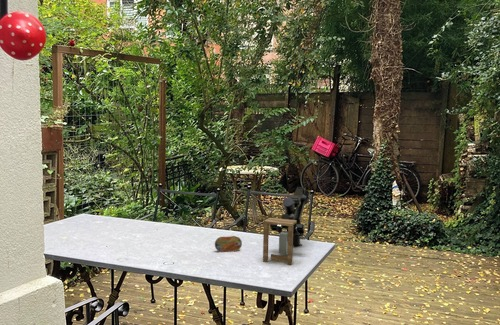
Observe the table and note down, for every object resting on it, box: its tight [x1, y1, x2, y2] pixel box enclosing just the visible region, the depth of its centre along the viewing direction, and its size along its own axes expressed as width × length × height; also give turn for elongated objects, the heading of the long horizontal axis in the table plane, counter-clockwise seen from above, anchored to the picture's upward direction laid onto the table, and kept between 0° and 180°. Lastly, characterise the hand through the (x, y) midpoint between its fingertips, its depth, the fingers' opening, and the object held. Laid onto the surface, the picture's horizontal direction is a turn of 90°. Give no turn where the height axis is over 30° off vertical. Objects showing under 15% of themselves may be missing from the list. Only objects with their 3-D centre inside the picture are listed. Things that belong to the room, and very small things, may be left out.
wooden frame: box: [262, 217, 297, 266], centre depth 239 cm, size 10×15×21 cm, turn 71°
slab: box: [278, 230, 288, 256], centre depth 248 cm, size 7×4×11 cm, turn 161°
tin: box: [214, 235, 243, 253], centre depth 256 cm, size 15×3×8 cm, turn 105°
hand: (284, 240), depth 248 cm, fingers closed on slab, 4 cm apart
